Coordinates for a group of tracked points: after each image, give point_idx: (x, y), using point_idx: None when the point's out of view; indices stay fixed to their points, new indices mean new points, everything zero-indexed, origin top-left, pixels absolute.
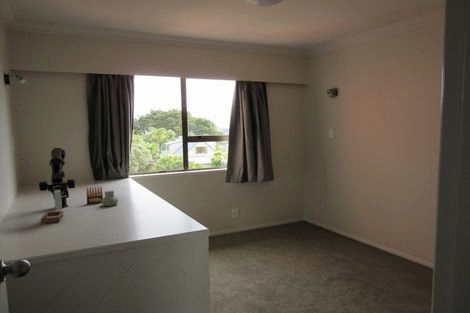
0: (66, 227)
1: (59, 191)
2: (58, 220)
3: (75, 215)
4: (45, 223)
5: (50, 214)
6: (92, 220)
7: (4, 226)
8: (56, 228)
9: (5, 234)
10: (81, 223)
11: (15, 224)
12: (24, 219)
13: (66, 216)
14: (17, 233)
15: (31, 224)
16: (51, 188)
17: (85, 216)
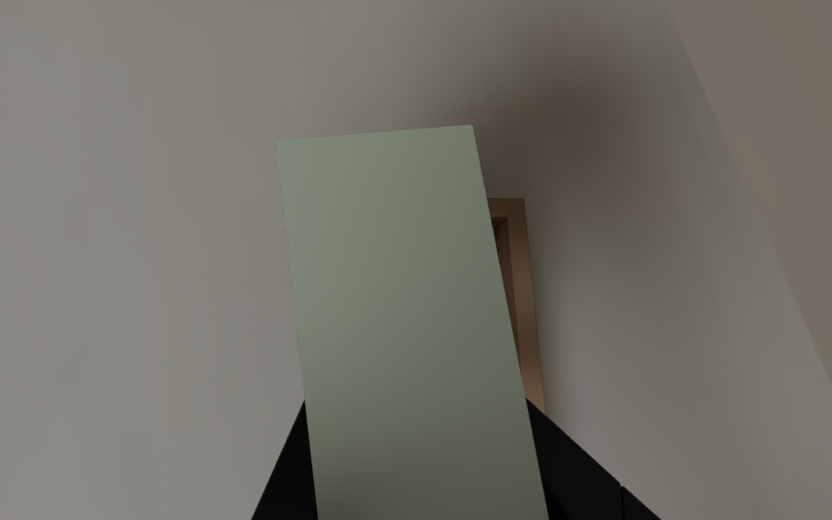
0: (259, 11)
1: (309, 204)
2: None
3: (212, 481)
4: None
5: None
6: (9, 151)
7: (782, 272)
8: (340, 19)
9: (672, 30)
10: (128, 83)
11: (724, 306)
12: (723, 487)
13: None
14: (600, 17)
15: (588, 247)
16: None
17: (86, 376)
